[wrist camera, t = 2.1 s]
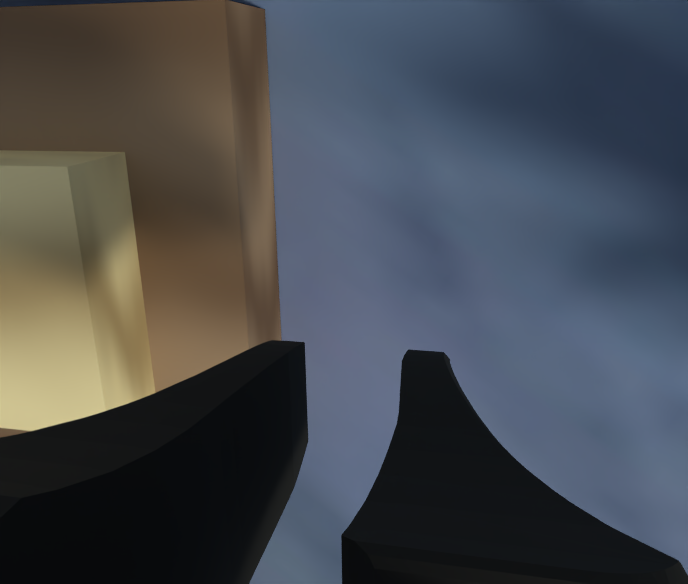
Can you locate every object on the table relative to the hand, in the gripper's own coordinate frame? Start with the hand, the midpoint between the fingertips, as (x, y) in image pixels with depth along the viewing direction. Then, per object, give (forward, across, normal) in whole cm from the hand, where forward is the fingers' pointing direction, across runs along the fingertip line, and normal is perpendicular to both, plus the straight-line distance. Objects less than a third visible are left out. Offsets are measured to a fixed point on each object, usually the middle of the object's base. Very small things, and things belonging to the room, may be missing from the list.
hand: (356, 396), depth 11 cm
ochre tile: (+5, +10, 0) cm, 11 cm away
